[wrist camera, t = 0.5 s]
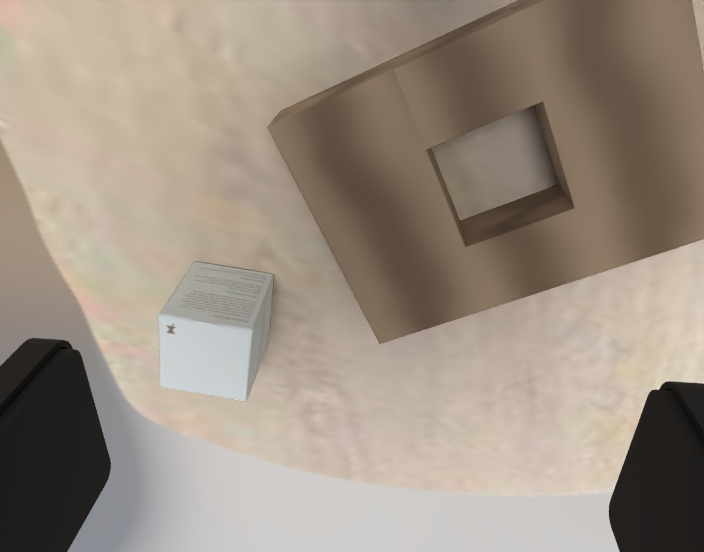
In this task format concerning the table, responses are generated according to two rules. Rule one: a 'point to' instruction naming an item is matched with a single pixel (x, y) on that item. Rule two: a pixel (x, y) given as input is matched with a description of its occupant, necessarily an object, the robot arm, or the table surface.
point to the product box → (215, 331)
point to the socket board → (486, 107)
